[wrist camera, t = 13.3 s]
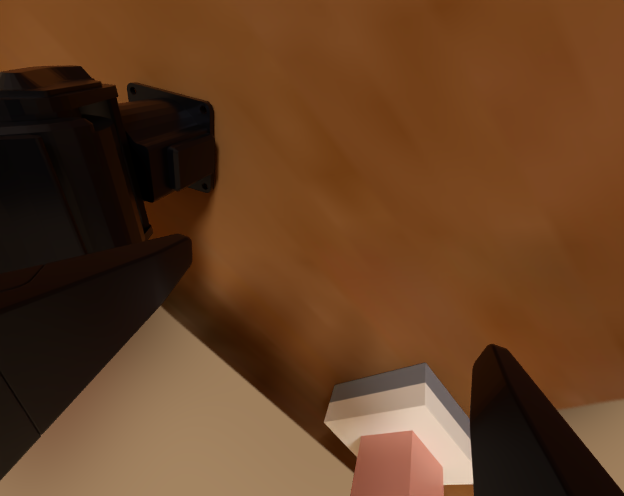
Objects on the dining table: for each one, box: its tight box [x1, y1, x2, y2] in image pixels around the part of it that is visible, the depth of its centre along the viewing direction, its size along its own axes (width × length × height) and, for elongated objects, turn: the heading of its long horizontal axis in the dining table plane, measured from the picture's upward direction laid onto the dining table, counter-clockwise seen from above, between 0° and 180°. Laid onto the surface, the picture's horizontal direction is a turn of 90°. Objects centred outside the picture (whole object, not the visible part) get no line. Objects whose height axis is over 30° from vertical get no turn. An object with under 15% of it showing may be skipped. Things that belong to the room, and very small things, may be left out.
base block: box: [324, 363, 473, 485], centre depth 29 cm, size 10×10×4 cm
